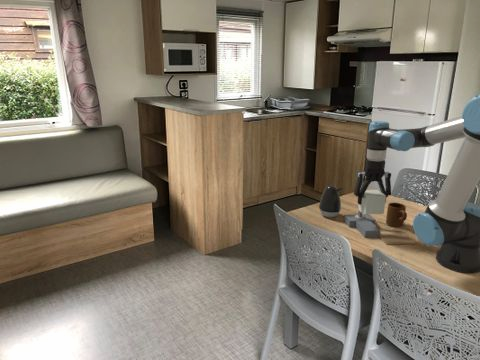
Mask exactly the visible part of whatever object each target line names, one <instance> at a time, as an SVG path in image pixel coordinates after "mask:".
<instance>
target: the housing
mask: <svg viewBox="0 0 480 360" xmlns="http://www.w3.org/2000/svg"><path fill="white" fill-rule="evenodd" d="M343 222H344V223H345V224H346V225H347V226H348V227H349V228H356V229H357V231H358V232H359V233H360V234H361V235H362V237H364V238H379V236H380V232H381V229H380V228H378V227H377V226H376V223H377V221H376V218H374V217H373V216H372V214H365V213H362V217H359V216H358V213H357V214H356V213H355V214H352V213H351V214H343Z"/></svg>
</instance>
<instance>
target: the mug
mask: <svg viewBox="0 0 480 360" xmlns="http://www.w3.org/2000/svg"><path fill="white" fill-rule="evenodd" d="M406 208H407V206H406V205H405V204H404V203H399V202H390V203H388V206H387V208H386V209H387V210H386V218H385V223H386V225H387V226H389V227H393V228H402V227H403V226H404V224H405V221H406V220H407V218H408V214H407V212H406Z"/></svg>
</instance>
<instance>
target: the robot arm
mask: <svg viewBox="0 0 480 360" xmlns="http://www.w3.org/2000/svg"><path fill="white" fill-rule="evenodd" d="M368 128H369V129H368V131H367V132H368V134H367V135H368V137H367V148H366V160H365V170H364V171H363V172H357V179H356V182H355V188H354V191H353V195H354V196H356V197H357V204H359V208H358V211H360V212H361V213H362V214H364V213H363V206H364V197H363V195H364V193H365V191H366V190H368V188H369V186H370V184H371V183H373V182H376V183H377V184H378V188H379V191H380V192H381V193H383V194H384V195H386V199H385V204H386V203H387V198H388V197H389V196H391V195H392V186H391V183H392V182H391V177H392V173H391V172H389V171H386V170H385V167H386V158H387V149H391V150H395V151H398V152H400V151H401V152H408V151H409V150H410V149H415V148H430V147H433V146H436V145H437V144H441V143H446V142H450V141H455V140H460V139H463V138H464V140H463V141H462V144H461V146H460V148H459V151H458V152H457V155H456V157H455V159H454V160H453V163H452V165H451V167H450V169H449V171H448V173H447V176H446V178H445V180H444V182H443V184H442V186H441V189H440V190H439V191H438V192H439V193H438V195H437V197H436V199H432V200H430V201H429V202H428V204H427V206H426V207H425V211H423V212H419V213H418V214H416V215H415V216H414V218H413V219H412V220H413V222H412V228H413V231H414V234H415V236H416V237H417V239H418V240H419V241H420V242H421V243H422V244H423V245H426V246H428V247H429V246H430V247H434V246H435V247H436V246H437V247H439V249H438V250H437V251H436V256H435V260H436V262H437V263H438V264H439V265H441V266H442V267H444V268H447V269H449V270H452V271H455V272H459V273H464V274H476V273H480V205H479V204H476V203H473V202H469V200H470V199H471V196H472V195H473V193H474V190H475V189H476V187H477V185H478V184H479V181H480V93H478V94H477V95H475V96H473V97H472V98H470V99H469V100H468V102H467V103H466V104H465V106H464V108H463V110H462V113H461V116H458V117H457V116H456V117H454V118H451V119H447V120H444V121H440V122H437V123H434V124H430V125H426V126H423V127H418V128H405V129H404V128H402V129H401V128H400V129H397V128H396V129H395V128H391V127H390V123H389V122H388V121H383V120H382V121H381V120H380V121H379V120H376V121H371V122H370V123H369V127H368ZM383 177H384V181H383ZM363 178H364V179H363ZM363 180H364V181H363ZM362 182H364V184H363V185H362V187H361V184H362ZM384 183H385V185H384Z"/></svg>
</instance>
